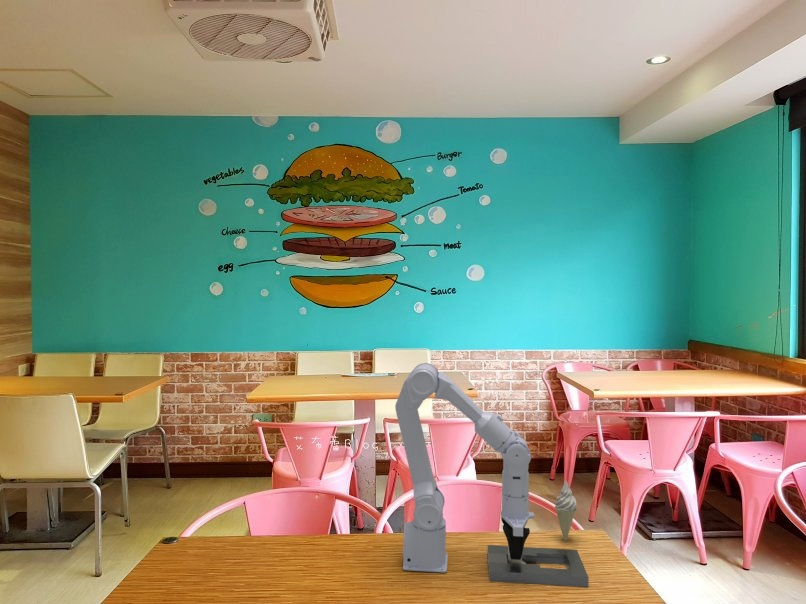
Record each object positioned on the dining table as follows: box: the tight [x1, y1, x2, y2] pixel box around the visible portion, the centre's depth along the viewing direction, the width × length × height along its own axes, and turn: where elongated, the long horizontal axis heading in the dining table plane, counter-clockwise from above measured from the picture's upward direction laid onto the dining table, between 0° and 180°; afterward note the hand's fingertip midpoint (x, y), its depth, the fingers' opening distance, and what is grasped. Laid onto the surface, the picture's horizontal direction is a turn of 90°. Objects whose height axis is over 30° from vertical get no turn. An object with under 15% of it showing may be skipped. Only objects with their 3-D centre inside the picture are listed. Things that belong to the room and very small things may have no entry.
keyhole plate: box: [486, 544, 589, 588], centre depth 121 cm, size 20×12×2 cm, turn 83°
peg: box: [507, 545, 527, 564], centre depth 121 cm, size 5×5×8 cm
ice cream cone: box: [554, 479, 577, 542], centre depth 135 cm, size 5×5×15 cm
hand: (514, 554), depth 121 cm, fingers closed on peg, 3 cm apart
